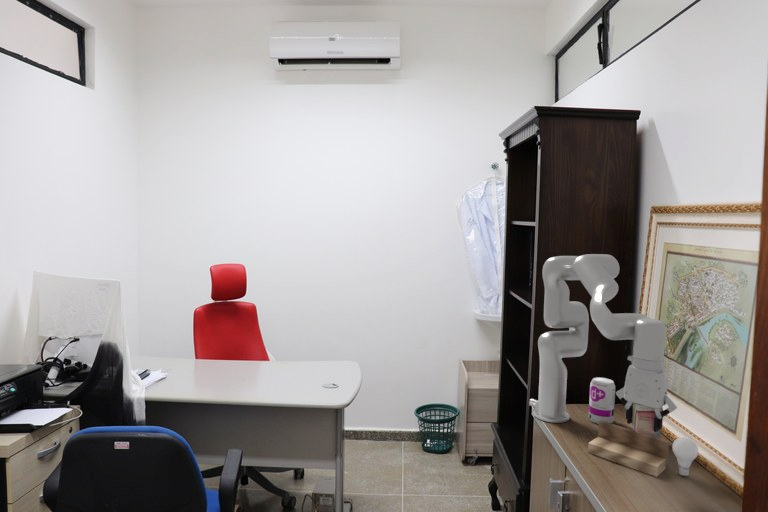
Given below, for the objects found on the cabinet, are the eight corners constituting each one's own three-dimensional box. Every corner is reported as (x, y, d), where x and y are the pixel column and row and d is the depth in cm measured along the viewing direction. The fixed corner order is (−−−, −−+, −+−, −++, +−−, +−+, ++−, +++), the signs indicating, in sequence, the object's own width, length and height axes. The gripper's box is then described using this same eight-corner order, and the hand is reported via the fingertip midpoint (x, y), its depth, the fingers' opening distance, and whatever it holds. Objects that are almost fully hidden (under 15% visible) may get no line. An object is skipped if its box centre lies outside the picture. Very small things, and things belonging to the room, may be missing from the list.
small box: (636, 433, 140) (638, 405, 140) (631, 426, 145) (632, 399, 144) (655, 434, 140) (657, 406, 139) (649, 427, 144) (651, 400, 143)
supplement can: (602, 427, 178) (604, 385, 177) (583, 418, 185) (585, 378, 184) (618, 423, 182) (620, 382, 181) (599, 415, 189) (601, 375, 188)
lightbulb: (666, 469, 148) (668, 433, 148) (688, 470, 148) (690, 434, 147) (677, 480, 142) (680, 442, 141) (701, 481, 142) (703, 443, 141)
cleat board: (587, 452, 159) (589, 427, 158) (599, 444, 164) (600, 420, 164) (656, 476, 144) (658, 449, 144) (667, 467, 150) (668, 440, 149)
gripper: (610, 359, 144) (606, 420, 146) (677, 374, 132) (672, 441, 133) (621, 354, 149) (617, 413, 151) (686, 368, 137) (682, 432, 138)
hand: (643, 425), depth 142 cm, fingers closed on small box, 6 cm apart
